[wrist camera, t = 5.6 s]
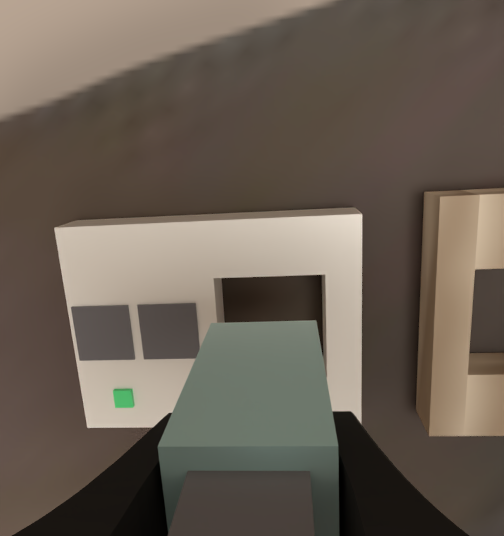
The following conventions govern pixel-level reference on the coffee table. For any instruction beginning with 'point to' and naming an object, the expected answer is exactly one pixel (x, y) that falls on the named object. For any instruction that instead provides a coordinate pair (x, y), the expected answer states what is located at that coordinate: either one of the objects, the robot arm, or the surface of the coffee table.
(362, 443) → the robot arm
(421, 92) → the coffee table surface
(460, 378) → the holster
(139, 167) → the coffee table surface
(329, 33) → the coffee table surface
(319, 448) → the plug
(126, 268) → the port housing
